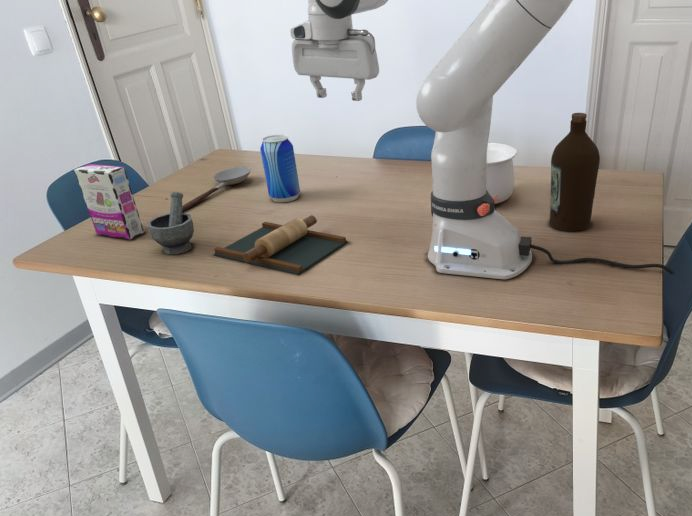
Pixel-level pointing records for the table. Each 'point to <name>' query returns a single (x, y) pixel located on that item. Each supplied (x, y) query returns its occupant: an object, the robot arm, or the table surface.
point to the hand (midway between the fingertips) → (339, 98)
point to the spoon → (222, 182)
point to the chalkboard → (285, 250)
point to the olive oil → (573, 178)
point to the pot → (500, 171)
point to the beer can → (280, 168)
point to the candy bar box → (109, 201)
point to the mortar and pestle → (173, 227)
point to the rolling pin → (279, 238)
